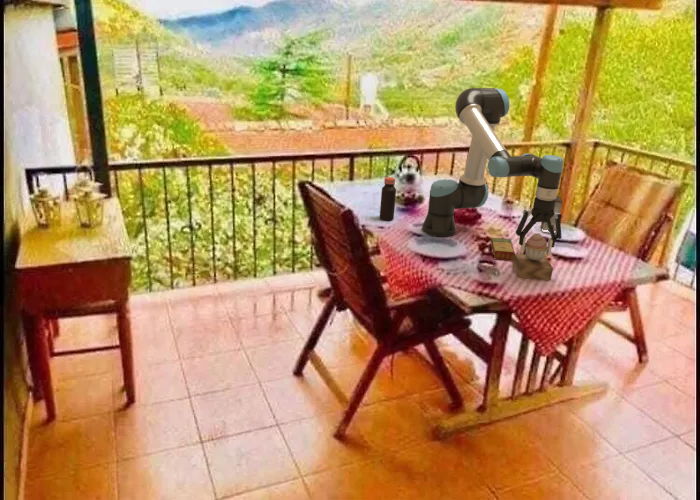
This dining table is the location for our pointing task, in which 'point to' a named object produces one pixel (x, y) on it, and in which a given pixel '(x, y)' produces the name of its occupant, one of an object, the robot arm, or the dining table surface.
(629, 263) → the dining table surface
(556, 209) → the coffee box
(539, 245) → the cupcake
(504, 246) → the carton
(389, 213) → the bottle
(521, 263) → the block
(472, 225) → the dining table surface
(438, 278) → the dining table surface
